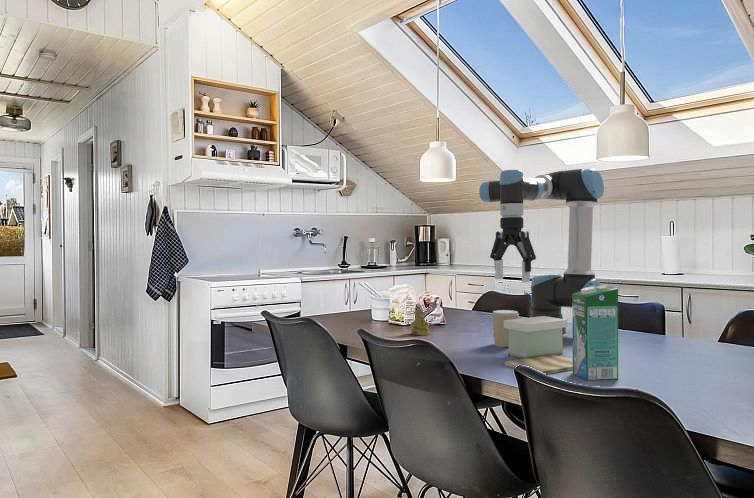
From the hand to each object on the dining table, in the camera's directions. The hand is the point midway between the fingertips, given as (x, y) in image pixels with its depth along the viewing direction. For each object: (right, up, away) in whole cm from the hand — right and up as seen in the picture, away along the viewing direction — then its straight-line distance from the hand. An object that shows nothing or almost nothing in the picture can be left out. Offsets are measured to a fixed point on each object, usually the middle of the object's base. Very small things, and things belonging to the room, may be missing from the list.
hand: (512, 280), depth 195 cm
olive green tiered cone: (-28, -24, +40) cm, 54 cm away
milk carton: (+16, -25, -32) cm, 44 cm away
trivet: (+6, -25, -19) cm, 32 cm away
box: (+7, -24, -2) cm, 25 cm away
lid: (+7, -15, -3) cm, 17 cm away
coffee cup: (+1, -24, +15) cm, 28 cm away
